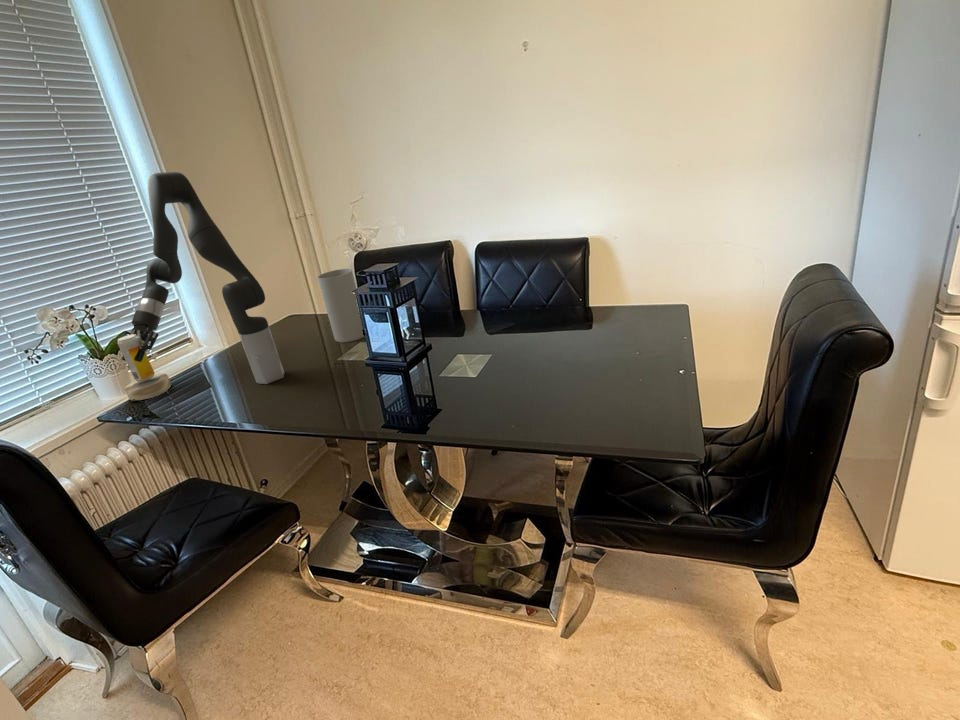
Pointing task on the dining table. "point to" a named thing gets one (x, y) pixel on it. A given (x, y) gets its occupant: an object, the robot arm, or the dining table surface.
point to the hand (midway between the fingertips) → (131, 360)
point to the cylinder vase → (341, 304)
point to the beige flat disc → (148, 387)
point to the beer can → (129, 351)
